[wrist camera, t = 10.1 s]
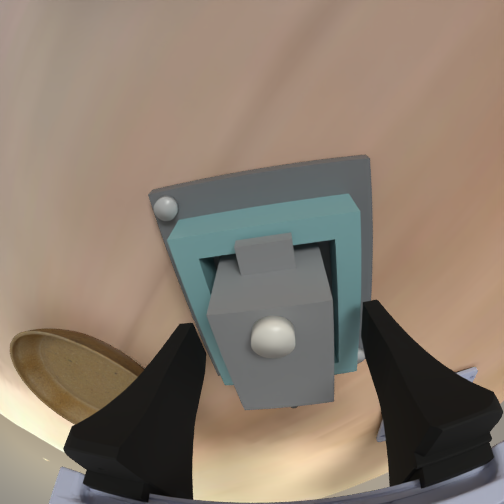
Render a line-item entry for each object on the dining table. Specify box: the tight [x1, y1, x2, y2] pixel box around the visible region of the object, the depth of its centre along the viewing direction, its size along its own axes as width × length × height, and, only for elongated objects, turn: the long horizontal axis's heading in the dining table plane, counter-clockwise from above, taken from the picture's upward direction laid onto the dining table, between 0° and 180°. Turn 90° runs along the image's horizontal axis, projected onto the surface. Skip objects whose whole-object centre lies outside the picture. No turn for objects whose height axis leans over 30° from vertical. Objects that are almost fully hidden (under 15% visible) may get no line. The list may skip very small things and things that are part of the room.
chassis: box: [148, 155, 373, 385], centre depth 14 cm, size 12×9×2 cm
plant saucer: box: [10, 329, 144, 425], centre depth 20 cm, size 15×15×3 cm
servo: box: [206, 232, 334, 410], centre depth 13 cm, size 11×4×5 cm, turn 11°
